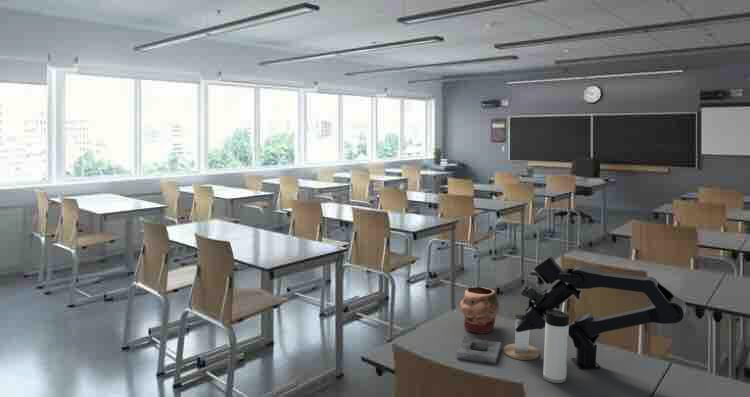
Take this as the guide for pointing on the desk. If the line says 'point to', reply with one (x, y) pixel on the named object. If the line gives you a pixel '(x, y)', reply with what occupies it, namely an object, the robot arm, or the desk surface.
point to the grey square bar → (521, 334)
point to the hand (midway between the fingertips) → (517, 325)
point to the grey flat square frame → (487, 357)
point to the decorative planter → (479, 309)
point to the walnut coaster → (532, 353)
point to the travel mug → (556, 346)
